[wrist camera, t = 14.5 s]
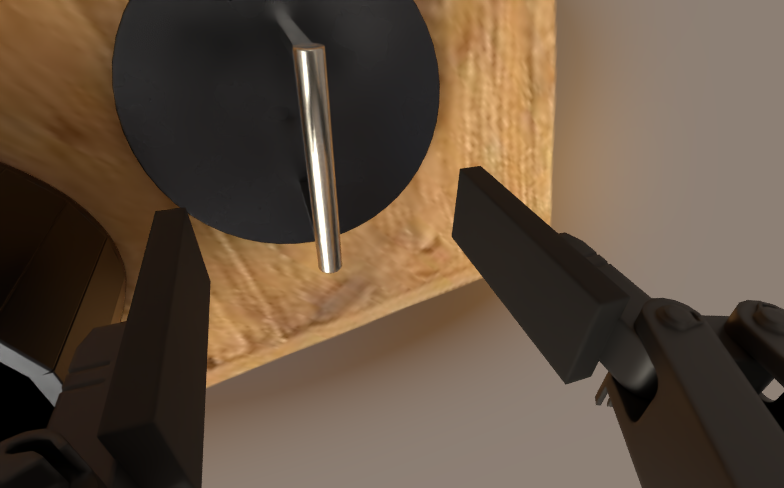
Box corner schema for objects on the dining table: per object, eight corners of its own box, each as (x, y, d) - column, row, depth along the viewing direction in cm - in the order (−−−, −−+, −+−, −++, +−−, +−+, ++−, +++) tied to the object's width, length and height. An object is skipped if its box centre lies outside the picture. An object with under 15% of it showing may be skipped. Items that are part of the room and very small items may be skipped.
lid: (177, 254, 24) (159, 368, 18) (47, -88, 15) (-92, -112, 8) (423, 212, 28) (482, 292, 22) (443, -76, 19) (557, -86, 12)
